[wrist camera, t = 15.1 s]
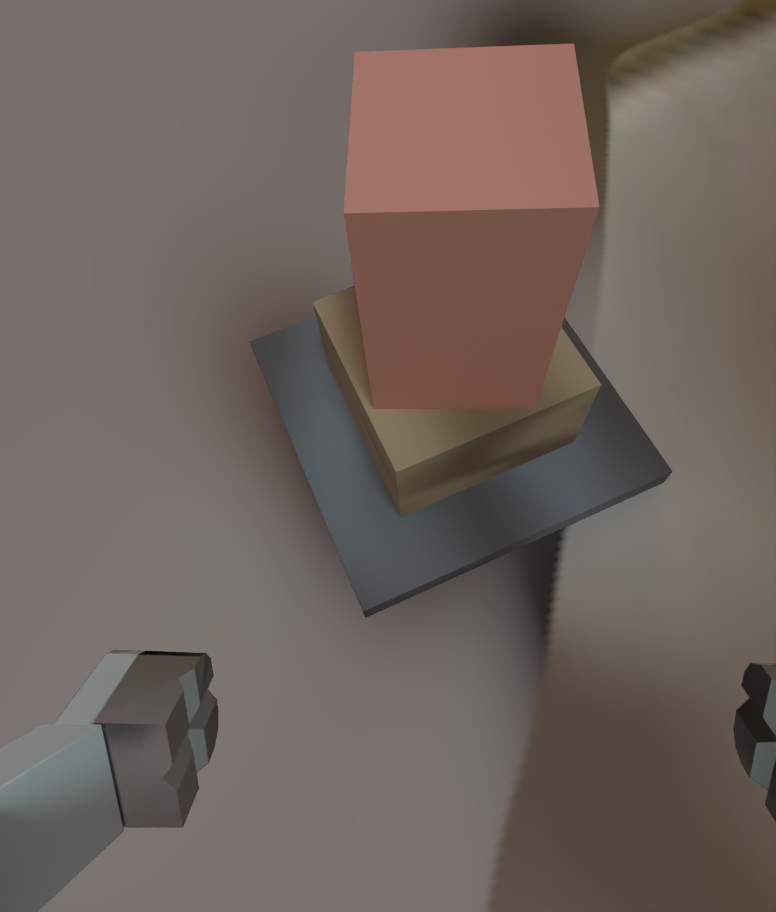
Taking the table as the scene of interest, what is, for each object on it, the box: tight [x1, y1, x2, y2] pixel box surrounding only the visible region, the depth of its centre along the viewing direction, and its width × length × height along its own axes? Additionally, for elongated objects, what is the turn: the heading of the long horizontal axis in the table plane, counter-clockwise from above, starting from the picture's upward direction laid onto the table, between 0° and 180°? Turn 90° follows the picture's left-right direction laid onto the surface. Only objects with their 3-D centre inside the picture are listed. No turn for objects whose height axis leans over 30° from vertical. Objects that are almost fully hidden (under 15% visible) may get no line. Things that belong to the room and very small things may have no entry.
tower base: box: [250, 286, 672, 617], centre depth 23 cm, size 12×12×5 cm
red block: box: [344, 44, 599, 409], centre depth 17 cm, size 5×5×8 cm
